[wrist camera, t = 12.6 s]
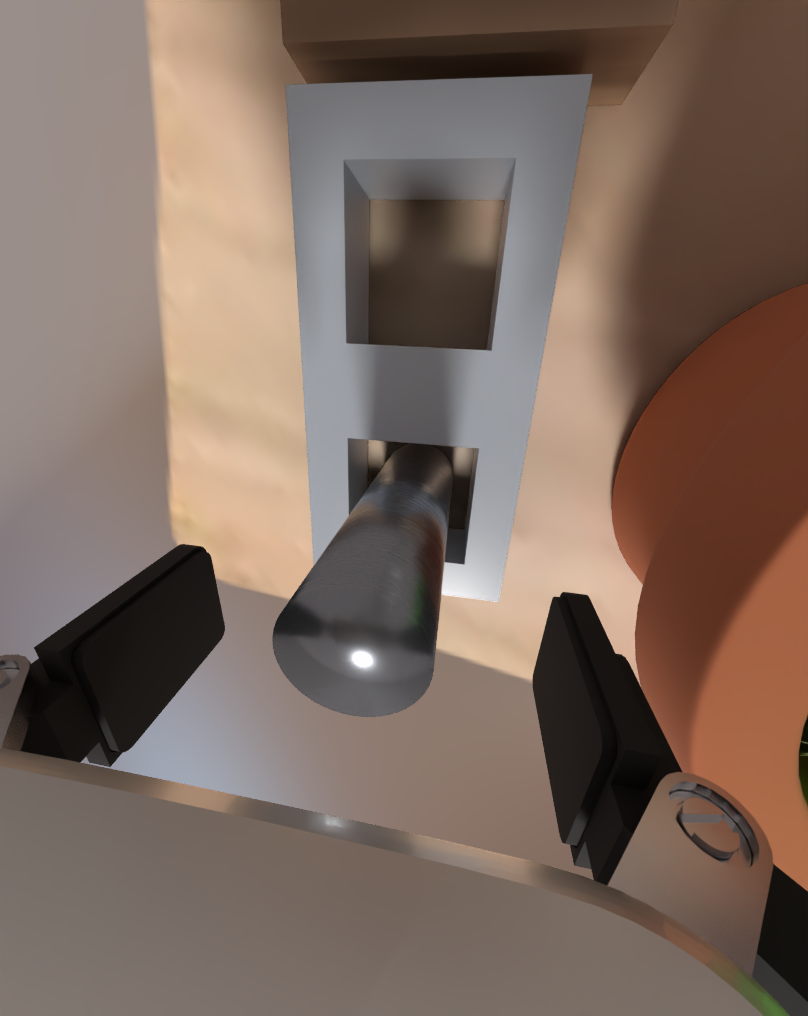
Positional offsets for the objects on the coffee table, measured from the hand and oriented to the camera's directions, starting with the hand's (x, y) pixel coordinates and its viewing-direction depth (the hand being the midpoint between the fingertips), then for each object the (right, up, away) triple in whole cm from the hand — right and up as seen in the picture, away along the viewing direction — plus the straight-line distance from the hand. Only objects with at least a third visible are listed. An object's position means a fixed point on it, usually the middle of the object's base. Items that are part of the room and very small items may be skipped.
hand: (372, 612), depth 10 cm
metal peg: (+2, +5, +12) cm, 13 cm away
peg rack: (+2, +9, +10) cm, 13 cm away
